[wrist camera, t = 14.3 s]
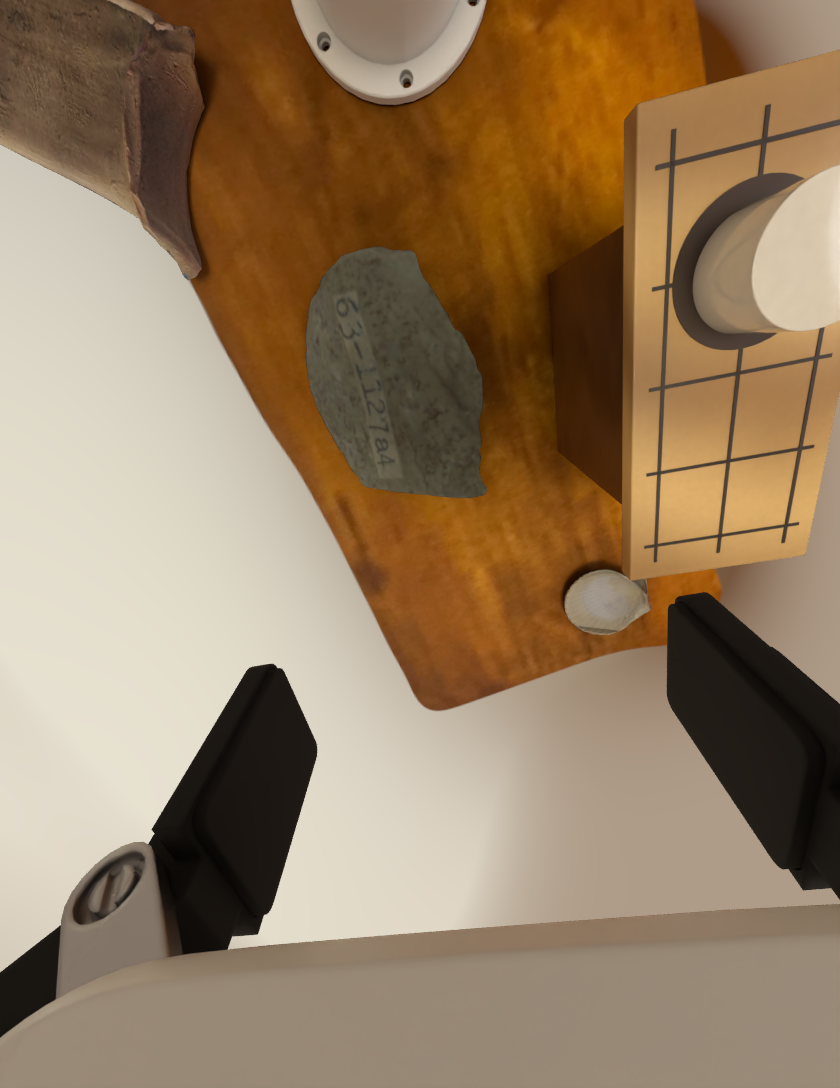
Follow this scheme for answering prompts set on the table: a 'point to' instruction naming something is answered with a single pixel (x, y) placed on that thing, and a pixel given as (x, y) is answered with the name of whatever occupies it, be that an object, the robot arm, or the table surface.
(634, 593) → the seashell
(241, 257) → the table surface
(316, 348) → the stone
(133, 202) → the fragment
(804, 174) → the game board
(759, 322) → the off-white cylinder
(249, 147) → the table surface
